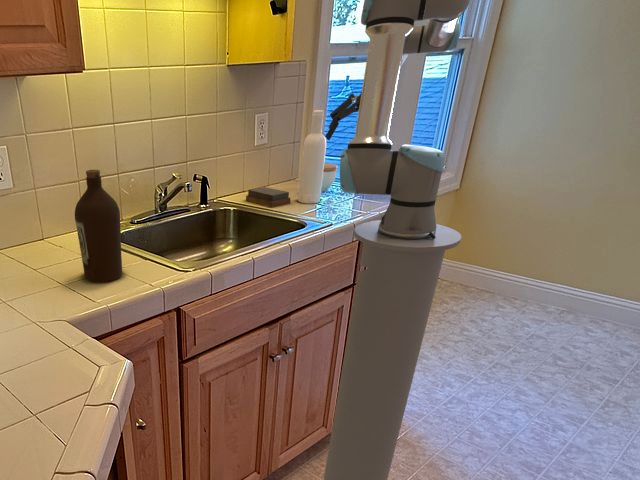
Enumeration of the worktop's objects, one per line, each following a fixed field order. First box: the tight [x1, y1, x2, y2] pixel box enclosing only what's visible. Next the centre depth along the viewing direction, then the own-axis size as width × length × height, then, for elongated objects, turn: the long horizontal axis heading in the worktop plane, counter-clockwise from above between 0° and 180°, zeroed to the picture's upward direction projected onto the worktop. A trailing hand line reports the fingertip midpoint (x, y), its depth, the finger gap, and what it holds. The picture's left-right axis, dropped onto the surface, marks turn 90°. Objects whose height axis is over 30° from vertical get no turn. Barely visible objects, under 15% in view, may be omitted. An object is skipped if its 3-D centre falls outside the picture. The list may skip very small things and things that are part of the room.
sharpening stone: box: [245, 186, 292, 208], centre depth 184 cm, size 14×9×4 cm, turn 32°
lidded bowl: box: [321, 162, 339, 193], centre depth 197 cm, size 13×13×11 cm
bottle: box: [297, 109, 327, 204], centre depth 177 cm, size 8×8×30 cm
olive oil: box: [74, 169, 123, 283], centre depth 119 cm, size 11×11×25 cm
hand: (343, 143), depth 177 cm, fingers open, 13 cm apart
